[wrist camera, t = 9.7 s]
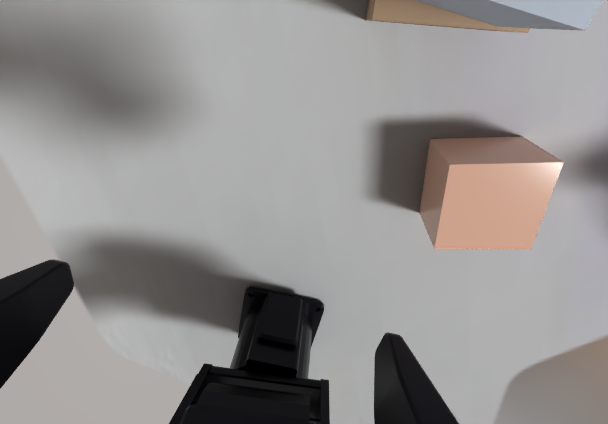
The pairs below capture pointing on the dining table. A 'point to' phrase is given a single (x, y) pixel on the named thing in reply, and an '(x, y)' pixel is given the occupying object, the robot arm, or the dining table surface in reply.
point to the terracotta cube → (486, 192)
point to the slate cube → (524, 12)
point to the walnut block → (425, 16)
